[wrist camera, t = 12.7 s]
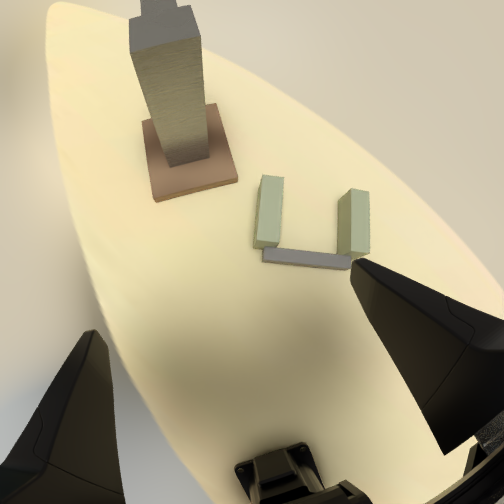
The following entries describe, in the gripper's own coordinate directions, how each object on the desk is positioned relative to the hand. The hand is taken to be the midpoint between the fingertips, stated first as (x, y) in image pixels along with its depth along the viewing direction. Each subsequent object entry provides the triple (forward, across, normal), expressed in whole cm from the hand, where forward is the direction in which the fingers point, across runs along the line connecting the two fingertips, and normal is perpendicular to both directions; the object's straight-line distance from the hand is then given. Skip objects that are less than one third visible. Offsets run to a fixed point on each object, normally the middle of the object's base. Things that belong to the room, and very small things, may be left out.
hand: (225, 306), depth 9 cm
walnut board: (+19, 0, 0) cm, 19 cm away
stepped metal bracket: (+20, 0, -2) cm, 20 cm away
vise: (+13, -8, +6) cm, 16 cm away
